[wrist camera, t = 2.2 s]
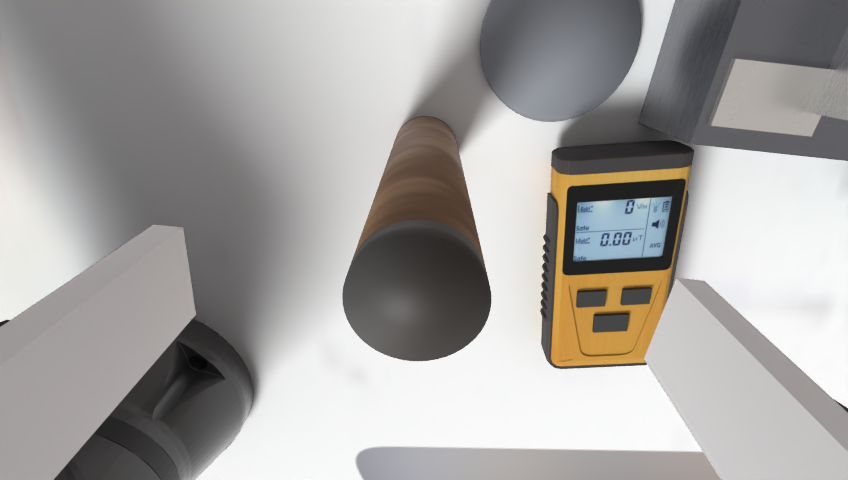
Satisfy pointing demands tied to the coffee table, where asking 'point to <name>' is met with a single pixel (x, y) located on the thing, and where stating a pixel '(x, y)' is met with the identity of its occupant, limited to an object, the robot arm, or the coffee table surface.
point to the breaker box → (754, 76)
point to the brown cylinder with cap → (419, 253)
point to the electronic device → (611, 249)
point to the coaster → (558, 53)
